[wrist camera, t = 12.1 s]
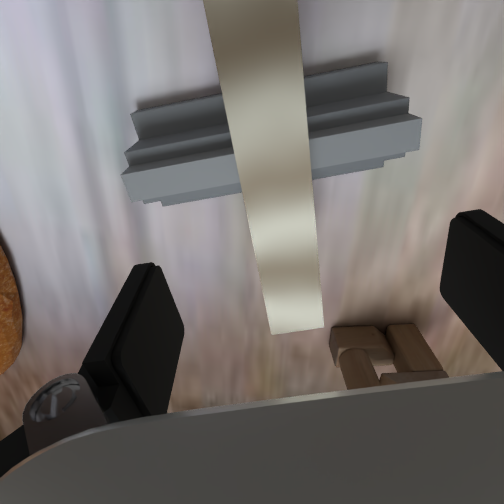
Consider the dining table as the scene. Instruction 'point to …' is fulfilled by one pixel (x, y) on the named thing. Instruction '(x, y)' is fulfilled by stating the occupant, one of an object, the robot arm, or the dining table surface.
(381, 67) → the ridge block
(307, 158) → the birch bar
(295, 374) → the dining table surface
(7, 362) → the bread
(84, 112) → the dining table surface
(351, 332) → the wooden block
